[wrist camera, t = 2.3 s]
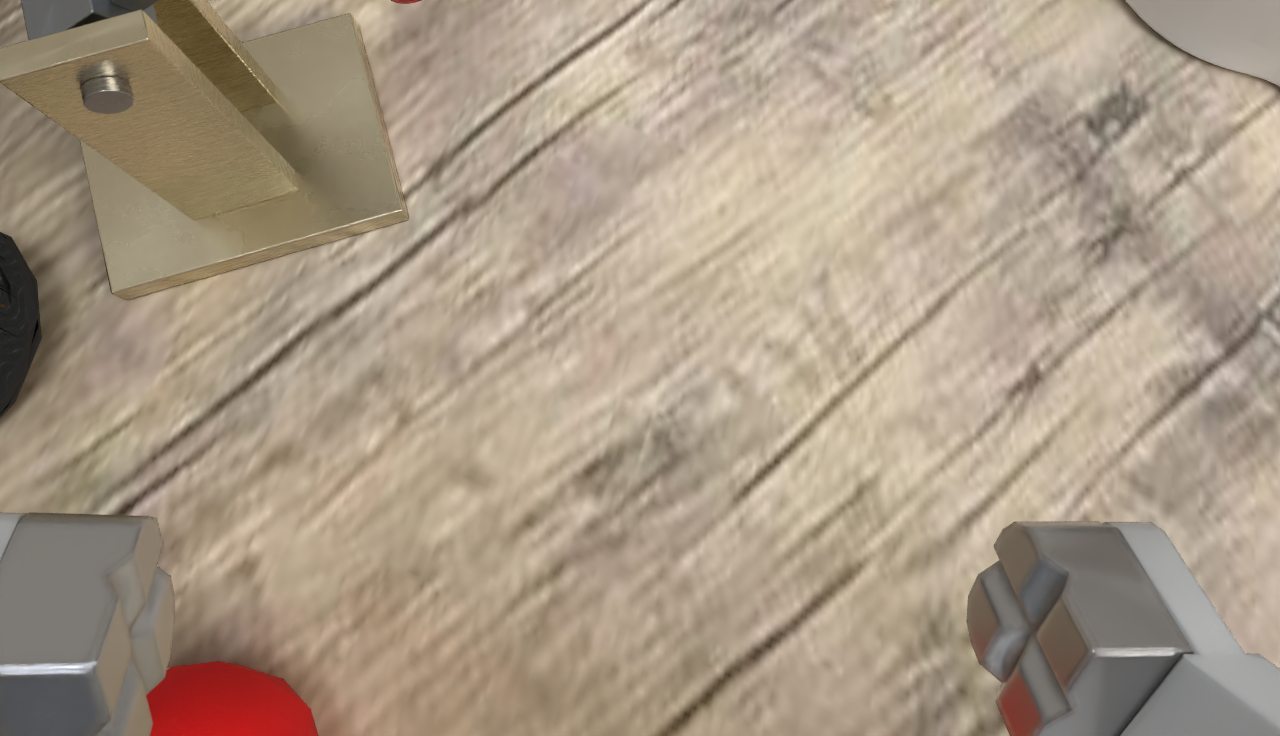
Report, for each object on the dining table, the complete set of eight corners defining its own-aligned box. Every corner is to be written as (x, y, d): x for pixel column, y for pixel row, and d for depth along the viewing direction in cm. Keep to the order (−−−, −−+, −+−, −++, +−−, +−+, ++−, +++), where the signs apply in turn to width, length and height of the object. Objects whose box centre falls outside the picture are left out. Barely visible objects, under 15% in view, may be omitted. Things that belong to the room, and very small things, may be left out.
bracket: (359, 25, 45) (226, -206, 31) (410, 220, 43) (294, 66, 30) (84, 102, 44) (-171, -98, 31) (125, 301, 43) (-124, 182, 29)
